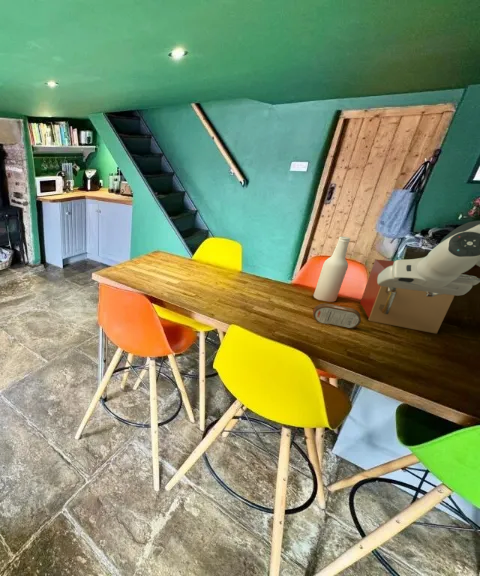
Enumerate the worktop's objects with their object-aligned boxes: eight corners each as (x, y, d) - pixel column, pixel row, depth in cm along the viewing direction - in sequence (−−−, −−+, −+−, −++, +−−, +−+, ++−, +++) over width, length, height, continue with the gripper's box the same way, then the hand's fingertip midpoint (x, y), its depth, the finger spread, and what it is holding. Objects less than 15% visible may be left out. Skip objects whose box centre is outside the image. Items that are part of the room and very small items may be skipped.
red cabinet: (435, 332, 114) (460, 278, 106) (367, 320, 123) (386, 269, 115) (419, 315, 127) (440, 265, 119) (359, 306, 136) (375, 259, 128)
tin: (356, 329, 117) (363, 309, 114) (357, 332, 115) (365, 312, 111) (310, 319, 124) (316, 300, 121) (310, 322, 122) (316, 303, 118)
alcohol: (310, 299, 143) (330, 237, 132) (315, 294, 148) (335, 234, 137) (332, 305, 137) (355, 240, 125) (337, 300, 142) (359, 237, 131)
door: (443, 340, 108) (470, 284, 100) (371, 327, 118) (391, 275, 110) (435, 332, 114) (460, 278, 106) (367, 320, 123) (386, 270, 115)
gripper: (484, 268, 85) (453, 289, 96) (388, 259, 94) (371, 279, 106) (485, 288, 83) (453, 306, 95) (388, 276, 92) (370, 295, 104)
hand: (409, 292), depth 100 cm, fingers open, 8 cm apart
